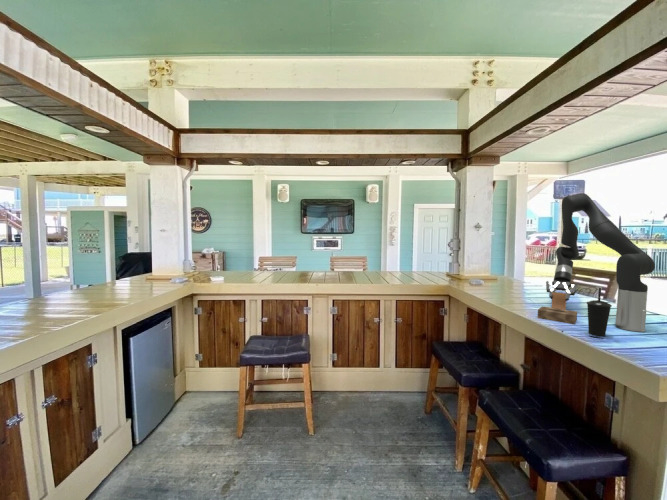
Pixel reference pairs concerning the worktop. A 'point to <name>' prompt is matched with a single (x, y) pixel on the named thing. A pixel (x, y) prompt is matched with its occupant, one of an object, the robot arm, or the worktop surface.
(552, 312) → the box
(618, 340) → the worktop surface
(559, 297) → the cover plate
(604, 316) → the drinking cup
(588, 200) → the robot arm
